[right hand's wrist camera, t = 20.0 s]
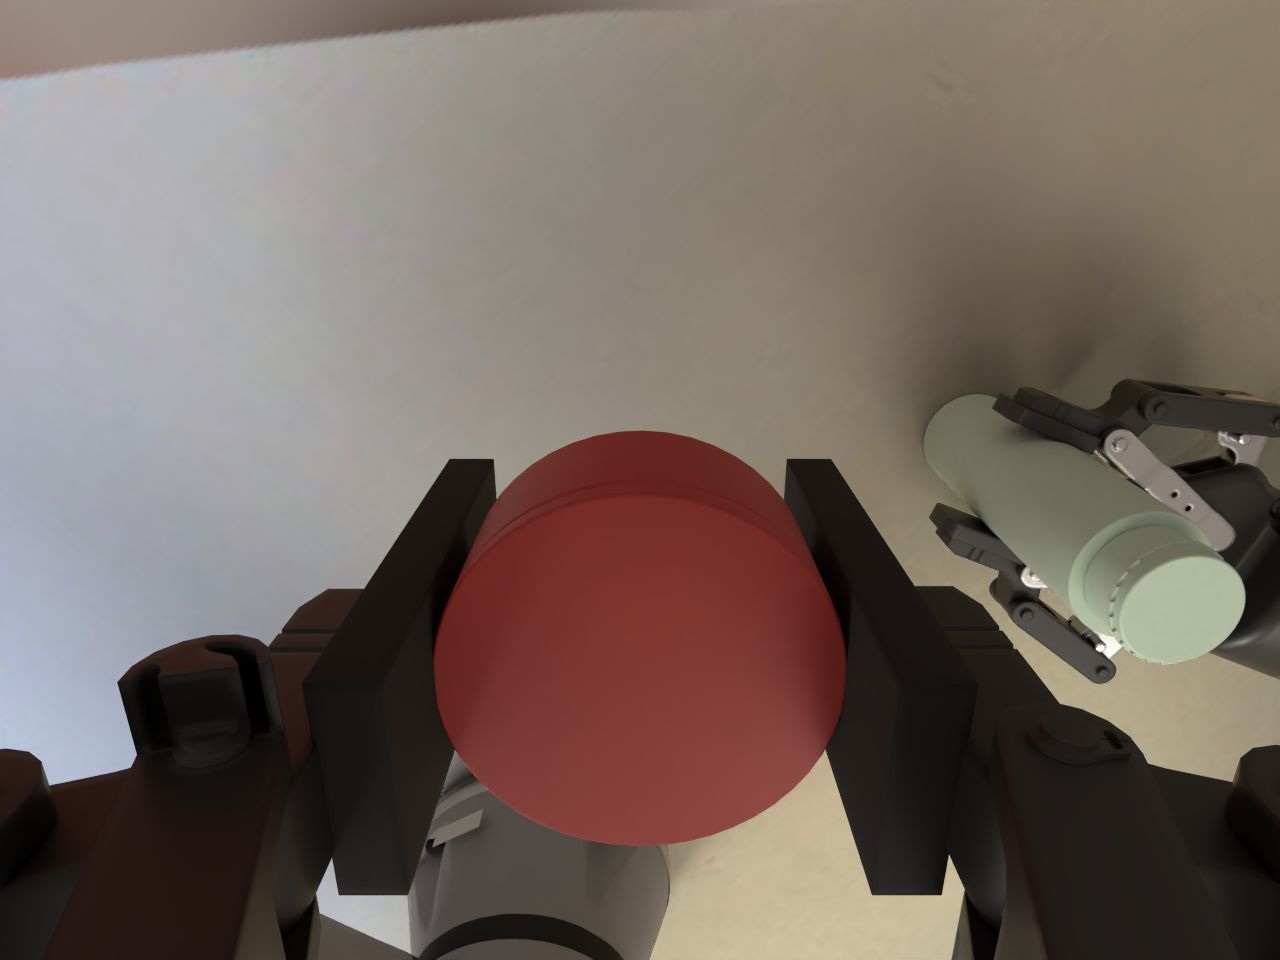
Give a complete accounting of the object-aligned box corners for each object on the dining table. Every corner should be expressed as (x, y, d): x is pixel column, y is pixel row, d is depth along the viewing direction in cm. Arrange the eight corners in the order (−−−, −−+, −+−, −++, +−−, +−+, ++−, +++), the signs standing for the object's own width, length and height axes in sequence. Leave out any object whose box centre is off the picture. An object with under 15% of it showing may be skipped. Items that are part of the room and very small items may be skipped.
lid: (864, 647, 13) (913, 753, 10) (580, 776, 13) (567, 898, 11) (714, 363, 11) (732, 414, 9) (403, 530, 12) (346, 614, 10)
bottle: (924, 397, 39) (1114, 547, 23) (1021, 389, 39) (1276, 534, 23) (921, 486, 40) (1096, 682, 25) (1014, 479, 40) (1248, 670, 25)
